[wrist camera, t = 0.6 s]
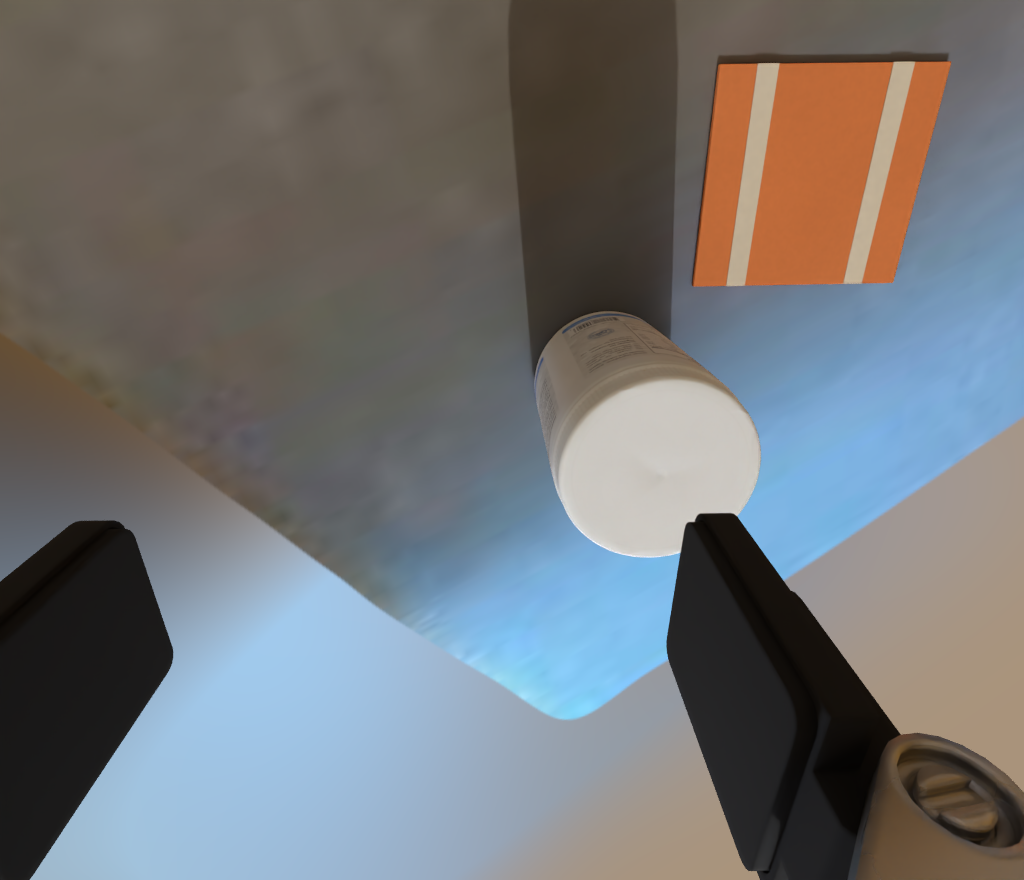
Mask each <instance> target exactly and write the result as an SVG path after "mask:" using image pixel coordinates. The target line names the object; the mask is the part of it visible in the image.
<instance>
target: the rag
mask: <svg viewBox="0 0 1024 880" xmlns="http://www.w3.org/2000/svg"><path fill="white" fill-rule="evenodd" d="M950 65H951V61H948V62H858V63H758V64H719V65H718V71H717V80H716V88H715V97H714V105H713V113H712V122H711V130H710V139H709V147H708V156H707V164H706V173H705V181H704V190H703V198H702V206H701V215H700V223H699V232H698V240H697V249H696V257H695V266H694V274H693V283H692V286H745V285H794V284H860V283H893V281H894V277H895V273H896V269H897V266H898V262H899V258H900V254H901V250H902V247H903V243H904V239H905V235H906V232H907V228H908V224H909V220H910V216H911V213H912V209H913V205H914V201H915V197H916V194H917V190H918V186H919V182H920V179H921V175H922V171H923V167H924V163H925V160H926V156H927V152H928V148H929V145H930V141H931V137H932V133H933V129H934V126H935V122H936V118H937V114H938V111H939V107H940V103H941V99H942V95H943V92H944V88H945V84H946V80H947V76H948V73H949V69H950Z"/></svg>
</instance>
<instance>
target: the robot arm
mask: <svg viewBox="0 0 1024 880" xmlns="http://www.w3.org/2000/svg"><path fill="white" fill-rule="evenodd" d="M667 654H668V659H669V663H670V665H671V668H672V671H673V674H674V676H675V679H676V682H677V685H678V687H679V690H680V693H681V696H682V699H683V701H684V704H685V707H686V710H687V712H688V715H689V718H690V720H691V723H692V726H693V729H694V732H695V734H696V737H697V740H698V743H699V746H700V748H701V751H702V754H703V757H704V759H705V762H706V765H707V768H708V770H709V773H710V775H711V779H712V781H713V784H714V787H715V790H716V792H717V795H718V798H719V801H720V803H721V806H722V809H723V812H724V815H725V817H726V820H727V822H728V825H729V828H730V831H731V834H732V837H733V839H734V842H735V845H736V848H737V850H738V853H739V856H740V858H741V861H742V863H743V865H744V866H745V868H746V869H747V870H748V871H757V873H758V876H759V878H760V880H1024V792H1023V791H1022V790H1021V789H1020V788H1019V787H1018V786H1017V785H1016V784H1015V783H1014V782H1013V781H1012V780H1011V779H1010V778H1009V777H1008V775H1006V774H1005V773H1004V772H1002V771H1001V770H1000V769H999V768H997V767H996V766H995V765H993V764H992V763H991V762H989V761H988V760H987V759H986V758H984V757H982V756H980V755H979V754H977V753H975V752H973V751H971V750H970V749H968V748H966V747H964V746H963V745H960V744H958V743H955V742H952V741H950V740H947V739H944V738H941V737H939V736H933V735H927V734H921V733H913V734H903V735H901V734H900V733H899V732H898V730H897V729H896V728H895V726H894V725H893V724H892V722H891V721H890V720H889V718H888V717H887V715H886V714H885V713H884V712H883V710H882V709H881V707H880V706H879V704H878V703H877V702H876V700H875V699H874V698H873V696H872V695H871V694H870V692H869V691H868V689H867V688H866V687H865V685H864V684H863V683H862V681H861V680H860V679H859V677H858V676H857V674H856V673H855V672H854V670H853V669H852V668H851V666H850V665H849V664H848V662H847V661H846V659H845V658H844V657H843V655H842V654H841V653H840V651H839V650H838V648H837V647H836V646H835V644H834V643H833V642H832V640H831V639H830V638H829V636H828V635H827V634H826V632H825V631H824V629H823V628H822V627H821V625H820V624H819V623H818V621H817V620H816V618H815V617H814V616H813V614H812V613H811V612H810V611H809V609H808V608H807V606H806V605H805V603H804V602H803V601H802V599H801V598H800V597H799V596H798V595H797V594H796V593H795V592H793V591H790V589H789V588H788V586H787V585H786V584H785V582H784V581H783V580H782V578H781V577H780V575H779V574H778V573H777V571H776V570H775V568H774V567H773V566H772V564H771V563H770V562H769V560H768V559H767V557H766V556H765V555H764V553H763V552H762V550H761V549H760V548H759V546H758V545H757V543H756V542H755V541H754V539H753V538H752V537H751V535H750V534H749V532H748V531H747V530H746V528H745V527H744V525H743V524H742V523H741V521H740V520H739V519H738V517H737V516H736V515H735V514H733V513H700V514H698V515H697V517H696V519H695V522H688V523H687V524H686V526H685V529H684V535H683V541H682V547H681V554H680V560H679V566H678V572H677V579H676V585H675V591H674V597H673V604H672V610H671V616H670V622H669V629H668V635H667ZM172 660H173V648H172V645H171V642H170V639H169V636H168V633H167V630H166V627H165V625H164V621H163V618H162V615H161V613H160V609H159V607H158V604H157V601H156V598H155V595H154V592H153V589H152V586H151V583H150V580H149V577H148V574H147V571H146V568H145V566H144V562H143V559H142V556H141V553H140V551H139V548H138V545H137V542H136V539H135V536H134V535H133V533H132V532H131V531H130V530H128V529H125V528H124V526H123V525H122V524H121V523H120V522H117V521H78V522H75V523H73V524H71V525H70V526H68V527H67V528H66V529H65V530H63V531H62V532H61V533H60V534H58V535H57V536H56V537H55V538H53V539H52V540H51V541H50V542H49V543H48V544H46V545H45V546H44V547H42V548H41V549H40V550H39V551H37V552H36V553H35V554H34V555H33V556H31V557H30V558H29V559H28V560H26V561H25V562H24V563H23V564H21V565H20V566H19V567H18V568H16V569H15V570H14V571H13V572H12V573H10V574H9V575H8V576H7V577H5V578H4V579H3V580H2V581H1V582H0V880H30V878H31V877H32V876H33V874H34V873H35V871H36V870H37V868H38V867H39V865H40V864H41V862H42V861H43V859H44V858H45V856H46V855H47V853H48V852H49V850H50V849H51V847H52V846H53V844H54V843H55V841H56V840H57V838H58V837H59V835H60V834H61V832H62V831H63V829H64V828H65V826H66V825H67V823H68V822H69V820H70V819H71V817H72V816H73V814H74V813H75V811H76V810H77V808H78V807H79V805H80V804H81V802H82V801H83V799H84V798H85V796H86V795H87V793H88V792H89V790H90V788H91V787H92V786H93V784H94V783H95V781H96V780H97V778H98V777H99V775H100V774H101V772H102V771H103V769H104V768H105V766H106V765H107V763H108V762H109V760H110V759H111V757H112V755H113V754H114V753H115V751H116V750H117V748H118V746H119V745H120V744H121V742H122V741H123V739H124V738H125V736H126V735H127V733H128V732H129V730H130V729H131V727H132V726H133V724H134V722H135V721H136V720H137V718H138V716H139V715H140V713H141V712H142V711H143V709H144V708H145V706H146V704H147V703H148V701H149V700H150V698H151V697H152V695H153V694H154V693H155V691H156V689H157V688H158V687H159V685H160V684H161V682H162V681H163V679H164V677H165V676H166V675H167V673H168V671H169V669H170V667H171V664H172Z"/></svg>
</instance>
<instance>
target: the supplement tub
mask: <svg viewBox="0 0 1024 880" xmlns="http://www.w3.org/2000/svg"><path fill="white" fill-rule="evenodd" d="M534 390H535V397H536V402H537V408H538V411H539V416H540V420H541V425H542V430H543V434H544V439H545V444H546V448H547V453H548V458H549V462H550V467H551V471H552V475H553V479H554V483H555V487H556V490H557V492H558V495H559V497H560V499H561V501H562V503H563V505H564V508H565V510H566V512H567V514H568V516H569V518H570V519H571V520H572V522H573V523H574V525H575V526H576V527H577V528H578V529H579V530H580V531H581V532H582V533H583V534H584V535H585V536H586V537H587V538H589V539H590V540H591V541H593V542H594V543H596V544H598V545H599V546H601V547H603V548H605V549H607V550H610V551H612V552H615V553H619V554H622V555H627V556H633V557H662V556H668V555H673V554H677V553H681V547H682V541H683V535H684V529H685V526H686V524H687V523H688V522H695V519H696V517H697V515H698V514H700V513H733V514H735V515H736V516H738V514H739V513H740V512H741V511H742V509H743V508H744V506H745V505H746V503H747V502H748V500H749V498H750V496H751V494H752V492H753V490H754V487H755V485H756V482H757V479H758V474H759V469H760V462H761V449H760V442H759V437H758V433H757V430H756V428H755V425H754V423H753V421H752V419H751V417H750V415H749V414H748V412H747V411H746V409H745V408H744V407H743V406H742V404H741V403H740V402H739V401H738V399H737V398H736V396H735V395H734V394H733V393H732V392H731V391H730V390H729V389H728V388H727V387H726V386H725V385H724V384H723V383H722V382H720V381H719V380H718V379H717V378H716V377H715V376H713V375H712V374H711V373H710V372H709V371H707V370H706V369H705V368H704V367H703V366H701V365H700V364H699V363H698V362H696V361H695V360H694V359H693V358H691V357H690V356H689V355H688V354H686V353H685V352H684V351H683V350H681V349H680V348H679V347H678V346H676V345H675V344H674V343H673V342H671V341H670V340H669V339H668V338H666V337H665V336H664V335H663V334H661V333H660V332H659V331H658V330H656V329H655V328H654V327H652V326H651V325H650V324H648V323H647V322H645V321H644V320H642V319H640V318H638V317H636V316H633V315H630V314H627V313H622V312H614V311H602V312H596V313H591V314H587V315H584V316H582V317H579V318H577V319H575V320H573V321H572V322H570V323H568V324H567V325H565V326H564V327H563V328H561V329H560V330H559V331H558V332H557V333H556V334H555V335H554V336H553V337H552V338H551V340H550V341H549V342H548V344H547V345H546V346H545V348H544V350H543V352H542V354H541V356H540V358H539V361H538V364H537V369H536V373H535V382H534Z"/></svg>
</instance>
